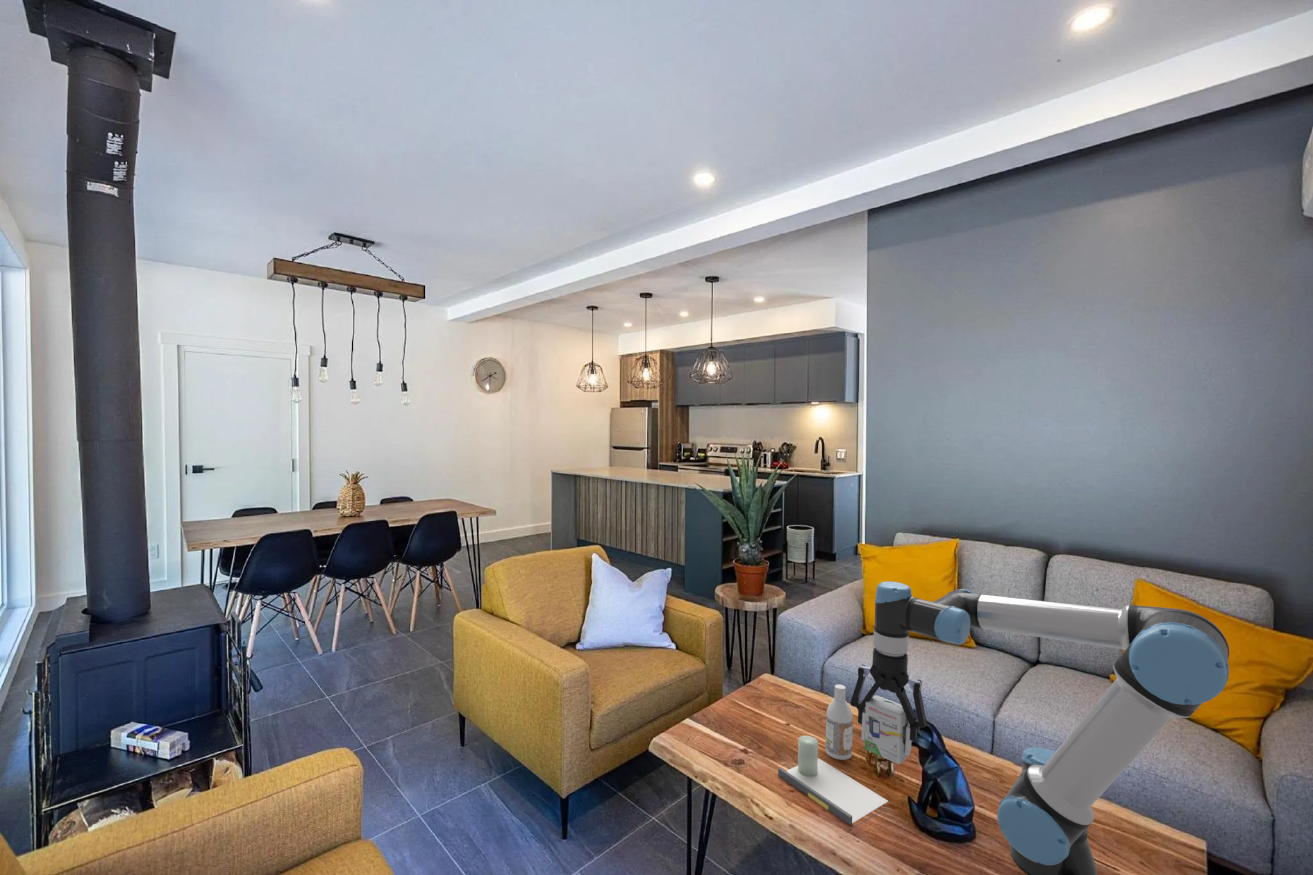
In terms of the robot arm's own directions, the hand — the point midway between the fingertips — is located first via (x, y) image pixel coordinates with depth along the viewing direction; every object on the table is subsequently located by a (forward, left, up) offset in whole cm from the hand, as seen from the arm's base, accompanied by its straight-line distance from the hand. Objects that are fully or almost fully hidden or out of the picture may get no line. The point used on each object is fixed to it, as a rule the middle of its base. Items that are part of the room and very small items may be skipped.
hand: (885, 744), depth 133 cm
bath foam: (+22, -12, -18) cm, 31 cm away
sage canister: (+21, +2, -16) cm, 27 cm away
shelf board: (+13, +2, -18) cm, 22 cm away
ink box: (0, 0, -2) cm, 2 cm away
